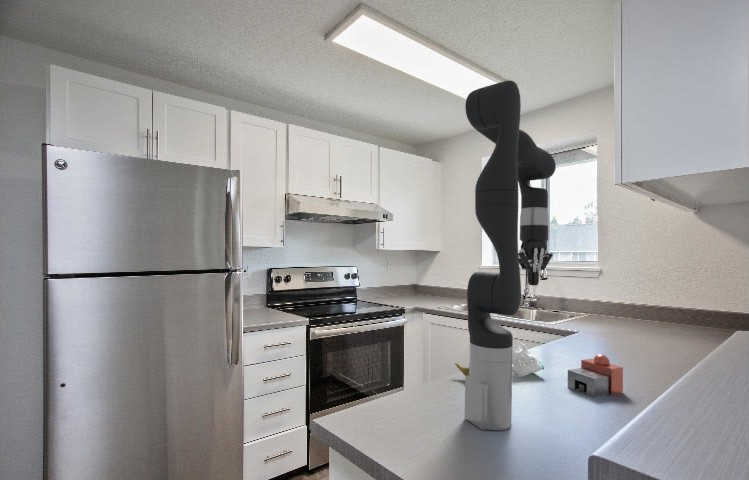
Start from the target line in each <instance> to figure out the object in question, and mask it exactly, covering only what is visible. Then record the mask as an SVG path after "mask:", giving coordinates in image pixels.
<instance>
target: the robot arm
mask: <svg viewBox="0 0 749 480" xmlns="http://www.w3.org/2000/svg"><path fill="white" fill-rule="evenodd" d="M521 103H522V101H521V93H520V89H519V86H518V84H517V83H516V82H515V81H513V80H504V81H500V82H496V83H493V84H489V85H486V86H483V87H480V88H477V89H474V90H472V91H471V92H470V93H468V95H467V97H466V100H465V106H464V107H465V109H464V110H465V114H466V118H467V121H468V122H469V123H470V125H471V126H472V128H473V129H474V130H475V131H477V132H478V133H480V135H483V136H484V137H485V138H487V139H488V140H489V141H491V142H492V143H494V144H495V146H494V149H493V152H492V153H491V155H490V157H489V159H488V160H487V162H486V163H485V165H484V166H483V169H482V170H481V172H480V174H479V176H478V178H477V180H476V182H475V183H476V184H475V187H474V188H475V189H474V192H475V193H474V195H475V196H474V199H475V202H474V204H475V205H474V209H475V216H476V219H477V220H478V221H477V222H478V223H479V225H480V227H481V228H482V230H483V231H484V233H485V234H486V236H487V238H488V239H489V240H490V242H491V244H492V245H493V248H494V250H495V252H496V256H497V260H498V269H499V272H498V271H497V272H496V271H495V272H494V271H475V272H473V273H472V274H471V276H470V277H469V279H468V282H467V289H466V301H467V302H466V303H467V304H466V305H467V328H468V333H469V359H468V361H469V363H468V368H469V376H464V377H465V378H464V379H465V380H464V382H465V383H464V385H465V386H464V419H465V420H466V421H468V422H470V423H471V424H473V425H474V426H476V427H477V428H479V429H480V430H481V431H482V430H483V431H484V430H489V431H503V430H504V431H505V430H508V429H510V428H511V427H512V417H513V416H512V415H513V413H512V412H513V411H512V410H513V408H512V406H513V404H512V403H513V402H512V401H513V397H512V396H513V371H512V366H513V364H512V349H513V348H514V347H513V346H514V345H513V344H514V343H513V341H514V339H513V338H514V337H513V333H512V332H511V331H510V330H508V329H506V328H505V327H504V326H501V325H500V324H498V322H496V321H495V320H494V319H493V318H492V316H491V314H495V315H502V316H515V315H516V314H517V313H518V312H519V309H520V306H521V299H522V283H521V281H522V280H521V269H522V270H525V271H526V272H527V284H528V285H529V286H534V287H535V286H538V285H539V283H540V272H541V271H545V270H546V268H547V266H548V265H549V263H550V261H551V260H552V258H553V255H554V254H553V253H552V252H549V251H548V250H547V244H546V242H548V241H549V211H548V206H549V201H548V200H549V199H548V197H549V194H548V193H549V192H548V190H547V188H544V187H538V186H532V185H531V181H538V180H546V179H549V178H551V177H552V176H553V175H554V173H555V172H556V161H555V158H554V156H553V155H552V154H550V153H549V152H548V151H546V150H545V149H543V148H542V147H540V146H538V145H537V143H536V142H535V141H534V139H533V138H532V136H530V134H529V133H527V132H526V131H525V130H523V129H521V128H520V125H521V124H520V123H521V113H522V112H521V109H522V108H521V107H522V105H521ZM519 191H520V197H521V199H520V200H521V202H520V203H521V204H520V214H519ZM519 215H520V216H519ZM518 229H519V230H518ZM518 233H519V234H518ZM518 235H519V236H518ZM518 240H520V241H521V245H520V249H519V241H518ZM520 267H521V269H520Z"/></svg>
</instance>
